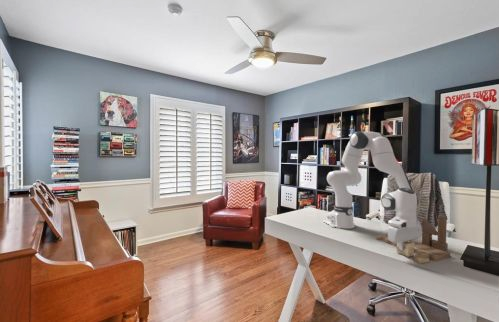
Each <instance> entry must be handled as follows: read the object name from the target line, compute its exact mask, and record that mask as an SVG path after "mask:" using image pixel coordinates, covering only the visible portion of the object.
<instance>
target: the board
mask: <svg viewBox="0 0 499 322" xmlns="http://www.w3.org/2000/svg"><path fill="white" fill-rule="evenodd" d="M376 240H378V241H380V242H383V243H385V244H388V245H392V246H394V247H396V248H397V243H394V242H391V241H389V239H388V233H386V234H382V235H376ZM413 243H414V253H415V252H419V251H425V252H428V253H429V260H431V261H434V262H436V261H440V260H444V259H448V258H451V254H452V253H450V252H447V251H442V250H439V249H436V248H433V247H431V246H427V245H424V244H422V242H418V241H415V240H414V242H413Z"/></svg>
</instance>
